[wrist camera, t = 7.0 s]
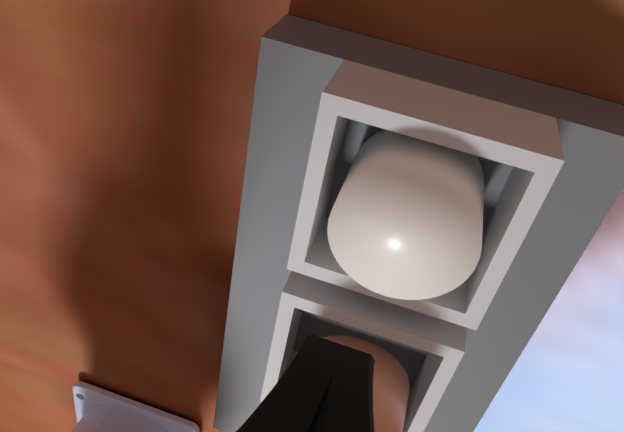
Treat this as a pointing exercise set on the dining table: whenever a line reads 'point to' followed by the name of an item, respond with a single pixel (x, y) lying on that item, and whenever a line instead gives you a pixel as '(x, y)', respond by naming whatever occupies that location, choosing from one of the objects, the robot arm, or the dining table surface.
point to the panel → (329, 180)
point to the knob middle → (383, 384)
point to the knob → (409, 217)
